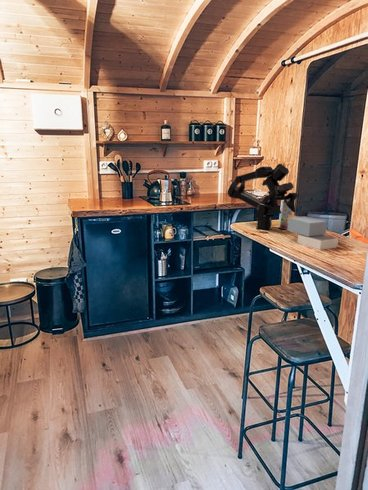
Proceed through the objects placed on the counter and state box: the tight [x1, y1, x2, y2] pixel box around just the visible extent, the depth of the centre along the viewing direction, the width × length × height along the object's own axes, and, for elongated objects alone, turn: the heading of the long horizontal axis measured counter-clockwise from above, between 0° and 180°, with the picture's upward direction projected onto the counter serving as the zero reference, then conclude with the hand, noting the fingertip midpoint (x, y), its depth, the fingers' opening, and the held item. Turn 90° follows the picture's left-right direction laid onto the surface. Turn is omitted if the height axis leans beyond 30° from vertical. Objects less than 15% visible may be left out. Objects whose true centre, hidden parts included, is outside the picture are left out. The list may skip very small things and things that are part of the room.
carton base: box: [296, 234, 339, 251], centre depth 173 cm, size 13×11×4 cm
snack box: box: [278, 200, 293, 230], centre depth 212 cm, size 21×6×15 cm, turn 168°
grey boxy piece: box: [286, 214, 328, 237], centre depth 179 cm, size 18×11×6 cm, turn 30°
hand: (287, 212), depth 187 cm, fingers open, 9 cm apart
